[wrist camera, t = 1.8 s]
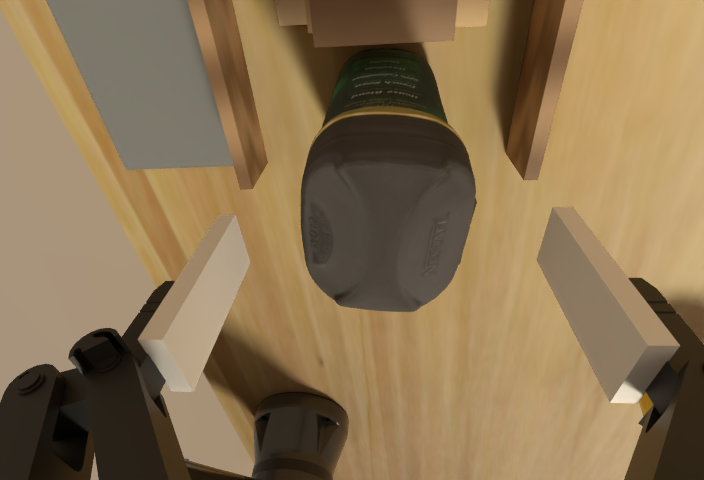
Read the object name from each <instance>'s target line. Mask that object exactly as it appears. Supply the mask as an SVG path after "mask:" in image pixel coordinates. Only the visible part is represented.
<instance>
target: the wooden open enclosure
mask: <svg viewBox="0 0 704 480" xmlns="http://www.w3.org/2000/svg"><path fill="white" fill-rule="evenodd" d="M187 1H188V4H189V8H190V12H191V15H192V19H193V22H194V26H195V29H196V33H197V37H198V40H199V44H200V47H201V51H202V54H203V58H204V61H205V65H206V69H207V72H208V76H209V79H210V83H211V86H212V90H213V93H214V97H215V101H216V104H217V108H218V111H219V115H220V118H221V122H222V126H223V129H224V133H225V136H226V140H227V143H228V147H229V150H230V154H231V158H232V161H233V165H234V168H235V172H236V175H237V179H238V183H239V186H240V189H253V187H254V186H255V184H256V182H257V180H258V179H259V177H260V175H261V173H262V172H263V170H264V168H265V166H266V165H267V163H268V161H267V157H266V152H265V148H264V143H263V139H262V134H261V130H260V125H259V121H258V116H257V111H256V107H255V102H254V98H253V93H252V89H251V84H250V80H249V75H248V71H247V66H246V62H245V57H244V52H243V48H242V43H241V39H240V34H239V30H238V25H237V21H236V16H235V12H234V7H233V3H232V0H187ZM583 1H584V0H535V1H534V6H533V11H532V17H531V22H530V27H529V33H528V38H527V43H526V48H525V54H524V59H523V64H522V70H521V75H520V80H519V85H518V91H517V96H516V101H515V107H514V112H513V117H512V123H511V128H510V133H509V138H508V144H507V149H506V154H507V156H508V157H509V159H510V160H511V162H512V163H513V165H514V166H515V168H516V169H517V171H518V172H519V174H520V175H521V177H522V178H523V180H538V177H539V173H540V169H541V165H542V161H543V157H544V153H545V150H546V146H547V142H548V138H549V134H550V130H551V126H552V122H553V118H554V114H555V110H556V106H557V102H558V99H559V95H560V91H561V87H562V83H563V79H564V75H565V71H566V67H567V63H568V59H569V55H570V52H571V48H572V44H573V40H574V36H575V32H576V28H577V24H578V20H579V16H580V12H581V8H582V5H583Z"/></svg>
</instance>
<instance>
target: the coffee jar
mask: <svg viewBox="0 0 704 480" xmlns="http://www.w3.org/2000/svg"><path fill="white" fill-rule="evenodd" d="M475 194H476V189H475V179H474V175H473V172H472V168H471V164H470V160H469V155H468V153H467V150H466V147H465V145H464V143H463V141H462V140H461V138H460V137H459V135H458V134H457V133H456V131H455V130H454V129H453V128H452V127H451V126H450V125H449V124H448V122H447V119H446V116H445V112H444V109H443V106H442V103H441V99H440V95H439V91H438V87H437V83H436V80H435V77H434V74H433V72H432V69H431V67H430V66H429V64H428V63H427V62H426V61H425V60H424V59H423V58H422V57H420V56H419V55H416V54H414V53H411V52H407V51H402V50H392V49H373V50H367V51H363V52H360V53H357V54H355V55H354V56H352V57H351V58H350V59H349V60H348V61H347V62H346V63H345V64H344V66H343V68H342V70H341V72H340V74H339V77H338V80H337V83H336V86H335V89H334V92H333V96H332V99H331V102H330V105H329V108H328V111H327V114H326V117H325V119H324V122H323V125H322V128H321V130H320V131H319V132H318V134H317V135H316V137H315V138H314V140H313V142H312V144H311V147H310V150H309V154H308V158H307V162H306V166H305V170H304V174H303V179H302V187H301V231H302V240H303V248H304V253H305V261H306V265H307V268H308V271H309V273H310V275H311V277H312V279H313V280H314V282H315V283H316V284H317V285H318V286H319V288H320V289H321V290H322V291H323V292H325V293H326V294H327V295H328V296H329V297H331V298H332V299H333V300H335V302H336V303H337V304H338V305H340V306H344V307H351V308H358V309H366V310H376V311H392V312H414V311H416V310H417V309H419V308H420V307H421V306H423V305H425V304H427V303H428V302H430V301H432V300H433V299H434V298H436V297H437V296H438V295H439V294H440V293H441V292H442V291H443V290H444V289H445V288H446V287H447V286H448V285H449V283H450V282H451V280H452V279H453V277H454V274H455V272H456V270H457V267H458V265H459V264H460V262H461V257H462V253H463V249H464V246H465V243H466V239H467V236H468V232H469V228H470V224H471V220H472V217H473V213H474V210H475V207H476V203H477V202H476V198H475Z"/></svg>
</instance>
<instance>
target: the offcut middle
mask: <svg viewBox="0 0 704 480" xmlns="http://www.w3.org/2000/svg"><path fill="white" fill-rule="evenodd" d="M489 4H490V0H458V3H457V13H456V23H455V27H477V26H486V24H487V17H488V11H489ZM305 8H306V18H307V28H308V33H312V23H311V14H310V4H309V0H305Z"/></svg>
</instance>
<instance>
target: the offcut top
mask: <svg viewBox="0 0 704 480" xmlns="http://www.w3.org/2000/svg"><path fill="white" fill-rule="evenodd" d="M457 3H458V0H309V4H310V14H311V23H312V33H313V42H314V48H317V47H337V46H356V45H376V44H395V43H415V42H434V41H453V40H454V33H455V23H456V13H457Z"/></svg>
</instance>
